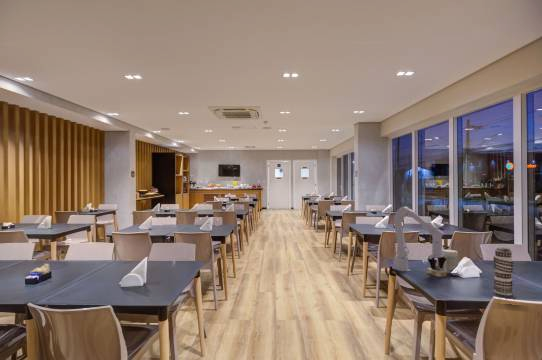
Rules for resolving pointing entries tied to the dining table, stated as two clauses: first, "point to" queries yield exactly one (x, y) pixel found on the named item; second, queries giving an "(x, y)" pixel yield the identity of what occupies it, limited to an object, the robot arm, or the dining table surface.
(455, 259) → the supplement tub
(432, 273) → the box
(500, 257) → the decorative candle
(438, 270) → the lid
